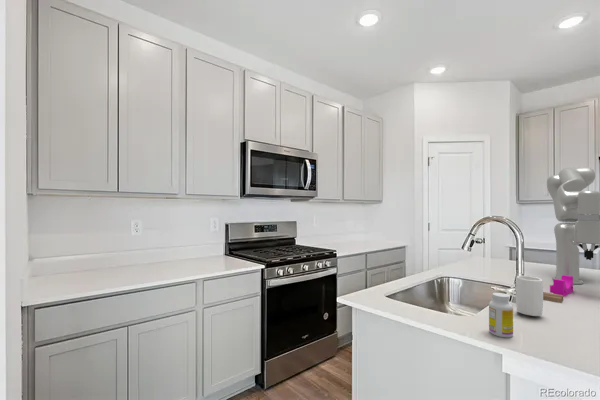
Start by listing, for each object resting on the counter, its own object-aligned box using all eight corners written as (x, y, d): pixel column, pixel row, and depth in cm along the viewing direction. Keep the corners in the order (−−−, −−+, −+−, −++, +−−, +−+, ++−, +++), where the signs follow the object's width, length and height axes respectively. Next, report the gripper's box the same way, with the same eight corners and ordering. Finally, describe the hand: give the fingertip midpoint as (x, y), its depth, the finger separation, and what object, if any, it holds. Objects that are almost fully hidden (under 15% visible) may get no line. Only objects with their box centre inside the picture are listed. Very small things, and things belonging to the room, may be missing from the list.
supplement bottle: (515, 334, 103) (515, 294, 103) (510, 340, 99) (510, 299, 99) (492, 328, 108) (492, 290, 108) (486, 333, 104) (486, 294, 104)
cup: (547, 320, 115) (547, 281, 115) (520, 318, 117) (520, 279, 117) (537, 312, 123) (537, 276, 123) (512, 310, 126) (512, 274, 126)
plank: (514, 290, 153) (515, 286, 153) (563, 299, 140) (563, 295, 140) (511, 293, 148) (511, 289, 148) (561, 302, 135) (561, 298, 135)
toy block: (556, 289, 157) (556, 273, 157) (573, 292, 152) (573, 276, 152) (546, 294, 148) (546, 278, 148) (563, 297, 143) (563, 281, 143)
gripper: (612, 219, 140) (612, 260, 139) (568, 217, 150) (568, 256, 150) (611, 219, 134) (611, 262, 134) (566, 218, 145) (566, 258, 145)
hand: (588, 259), depth 142 cm, fingers closed
